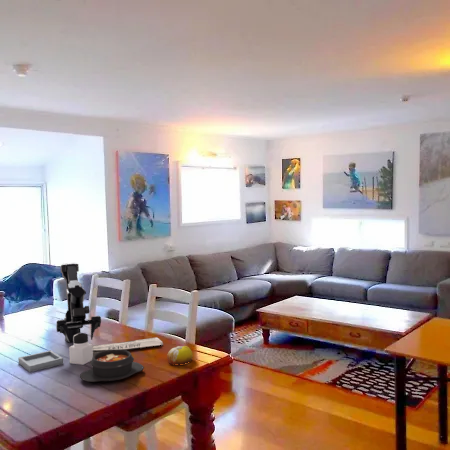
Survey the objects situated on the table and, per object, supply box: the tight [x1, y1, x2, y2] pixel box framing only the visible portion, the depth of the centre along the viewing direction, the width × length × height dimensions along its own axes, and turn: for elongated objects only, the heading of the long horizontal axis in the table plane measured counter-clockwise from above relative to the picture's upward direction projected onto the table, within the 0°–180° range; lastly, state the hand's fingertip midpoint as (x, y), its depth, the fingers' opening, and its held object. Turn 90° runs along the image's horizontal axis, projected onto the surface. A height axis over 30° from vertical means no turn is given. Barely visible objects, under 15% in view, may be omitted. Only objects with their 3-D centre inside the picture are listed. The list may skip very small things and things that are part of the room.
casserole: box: [79, 350, 144, 383], centre depth 187 cm, size 25×19×8 cm
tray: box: [17, 349, 64, 373], centre depth 202 cm, size 14×14×2 cm
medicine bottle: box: [68, 332, 94, 365], centre depth 204 cm, size 7×7×12 cm
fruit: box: [166, 345, 194, 366], centre depth 202 cm, size 11×10×8 cm
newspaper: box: [93, 337, 164, 356], centre depth 220 cm, size 35×12×4 cm, turn 114°
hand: (80, 340), depth 203 cm, fingers open, 9 cm apart
